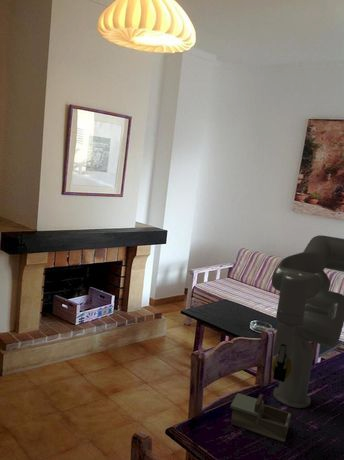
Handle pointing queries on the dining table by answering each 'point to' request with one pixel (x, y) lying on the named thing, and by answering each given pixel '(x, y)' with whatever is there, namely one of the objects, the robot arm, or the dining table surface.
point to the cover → (247, 404)
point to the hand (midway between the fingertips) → (280, 375)
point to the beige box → (264, 422)
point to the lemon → (288, 366)
